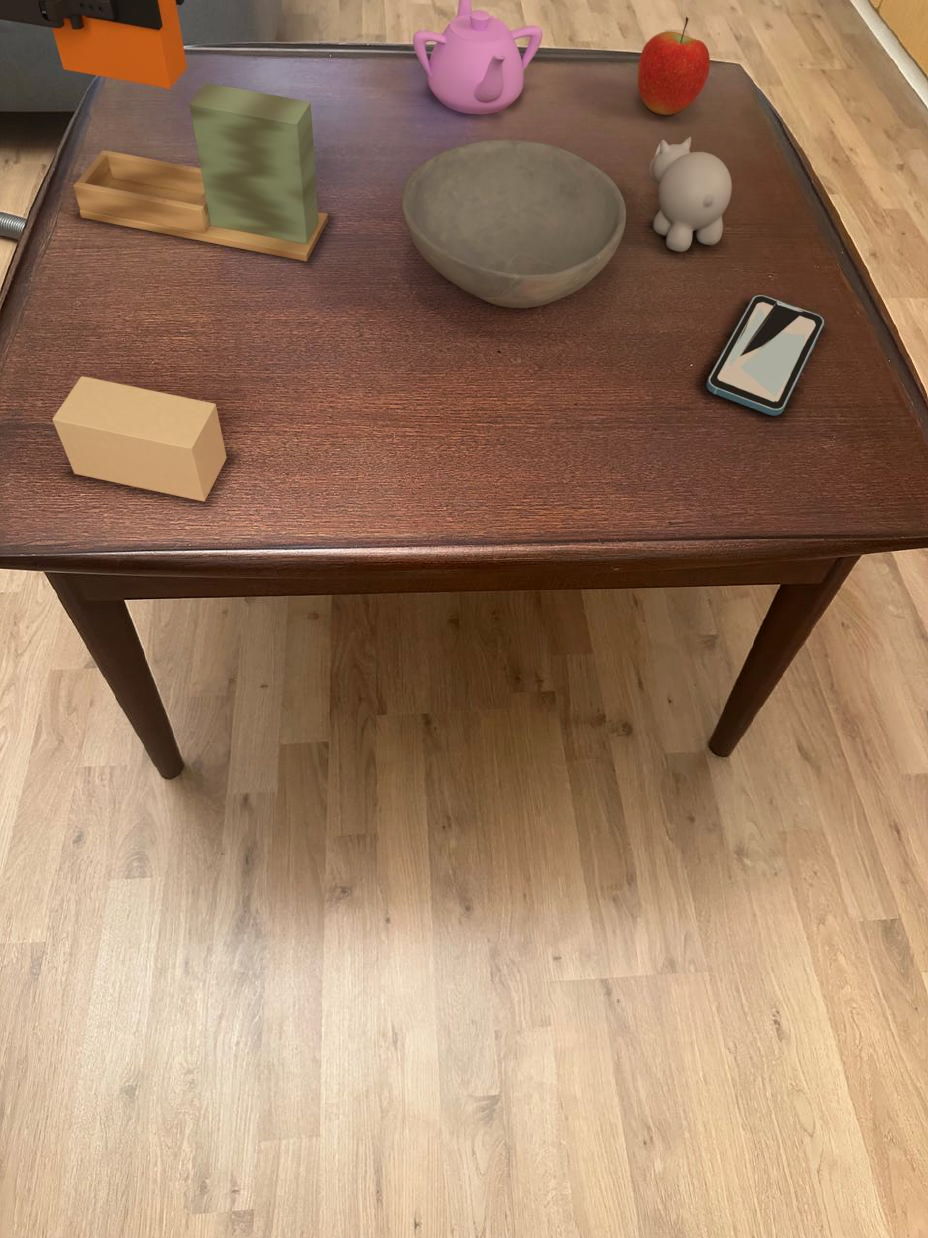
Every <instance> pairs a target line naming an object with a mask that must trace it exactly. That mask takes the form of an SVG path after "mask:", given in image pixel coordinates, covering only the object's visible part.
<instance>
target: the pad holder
mask: <svg viewBox="0 0 928 1238" xmlns="http://www.w3.org/2000/svg"><path fill="white" fill-rule="evenodd" d="M311 104H312V103H311V101H309V100H303V99H298V98H292V97H287V96H282V95H275V94H270V93H266V92H265V93H264V92H260V91H259V92H258V91H253V90H248V89H242V88H237V87H232V86H228V85H227V86H226V85H221V84H215V83H210V82H204V84H203V85H202V87H201V88H200V89H199V91H198V92H197V93H196V94H195V96H194V97H193V98H192V100H191V101H190V103H189V111H190V115H191V122H192V129H193V133H194V139H195V145H196V151H197V156H198V161H199V167H196V166H191V165H185V164H180V163H175V162H169V161H165V160H159V159H154V158H148V157H144V156H143V157H142V156H137V155H132V154H129V153H128V154H126V153H122V152H116V151H112V150H106V149H102V150H101V152H100V153H99V154H98V155H97V156H96V158H95V159H94V160H93V162H91V164H90V165H89V166H88V167H87V168H86V170H85V171H84V172H83V173H82V174H81V176H80V177H79V178H78V179H77V180H76V181H75V183H74V184H73V185H72V187H73V191H74V194H75V197H76V201H77V204H78V207H79V215H80V218H82V219H87V220H92V221H97V222H103V223H108V224H112V225H118V226H122V227H127V228H133V229H138V230H143V231H149V232H153V233H157V234H163V235H168V236H175V237H179V238H184V239H189V240H194V241H199V242H204V243H210V244H216V245H220V246H226V247H230V248H236V249H242V250H246V251H251V252H256V253H261V254H267V255H272V256H276V257H282V258H286V259H292V260H297V261H301V262H307V261H308V260H309V258H310V256H311V255H312V252H313V250H314V248H315V246H316V245H317V243H318V241H319V239H320V237H321V235H322V234H323V232H324V229H325V228H326V226H327V224H328V222H329V214H328V213H326V212H320V211H319V202H318V191H317V190H318V187H317V175H316V162H315V161H316V160H315V147H314V146H315V145H314V134H313V132H314V131H313V119H312V118H313V117H312V116H313V115H312V105H311Z"/></svg>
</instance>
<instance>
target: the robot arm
mask: <svg viewBox="0 0 928 1238" xmlns="http://www.w3.org/2000/svg"><path fill="white" fill-rule="evenodd" d="M184 3H185V0H176V6H182V5H183V4H184ZM82 15H83V16H85V17H89V18H94V19H100V20H105V21H111V22H116V23H122V24H127V25H133V26H138V27H144V28H150V29H155V30H160V29H161V28H162V27H163V25H162V19H161V14H160V9H159V3H158V0H0V20H2V21H8V22H13V23H19V24H25V25H32V26H40V27H45V28H50V29H52V28H62V27H63V26H64V25H65V24H64V20H63V19H64V18H67V19H70V22H71V26H72V29H74V30H78V29H82V28H83V27H84V23H83V19H82Z"/></svg>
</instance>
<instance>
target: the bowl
mask: <svg viewBox="0 0 928 1238" xmlns="http://www.w3.org/2000/svg"><path fill="white" fill-rule="evenodd" d="M400 208H401V213H402V218H403V222H404V224H405V227H406V230H407V232H408V235H409V236H410V239H411V241H412V243H413V245H414V247H415V248H416V250H417V252H419V254H420V256H421V257H422V258H423V259H424V260H425V262H427V264H429V265H430V267H432V268H433V270H435V271H436V272H438V273H439V274H440V275H441V276H442V277H444V278H445V279H446V280H447V281H449V282H451V283H452V285H455V286H456V287H457V288H460V289H462V290H463V291H465V292H467V293H468V294H470V295H472V296H475V297H477V298H479V299H481V300H483V301H485V302H487V303H490V304H492V305H495V306H496V307H503V308H510V309H530V308H535V307H537V308H538V307H542V306H545V305H550V304H552V303H554V302H555V301H559V300H561V299H563V298H566V297H568V296H570V295H572V294H574V293H576V292H578V291H579V290H581V289H582V288H583V287H585V286H586V285H587V284H588V283H590V282H591V281H592V280H593V279H594V278H595V277H597V275H599V273H600V272H601V271H602V270H603V269H604V268H605V267H606V266H607V264H608V263H609V262H610V260H611V259H612V257H613V256H614V254H615V253H616V250H617V249H618V247H619V245H620V243H621V242H622V241H621V240H622V239H623V235H624V232H625V229H626V228H625V227H626V221H627V220H626V219H627V209H626V204H625V199H624V197H623V195H622V193H621V191H620V189H619V188H618V186H617V185H616V183H615V182H614V181H613V180H612V179H611V177H610V176H608V174H607V173H605V172H604V171H603V170H601V169H600V168H599V167H597V166H596V165H594V164H593V163H591V162H589V161H588V160H586V159H584V158H582V157H580V156H578V155H577V154H575V153H573V152H571V151H569V150H567V149H564V148H562V147H559V146H555V145H552V144H548V143H544V142H537V141H528V140H521V139H487V140H478V141H474V142H470V143H466V144H461V145H459V146H455V147H452V148H450V149H447V150H444V151H442V152H440V153H438V154H436V155H434V156H433V157H431V158H429V159H428V160H426V161H424V162H423V163H421V164H420V165H419V166H418V168H416V169H415V171H413V172H412V174H411V175H410V176H409V178H408V179H407V181H406V182H405V184H404V187H403V190H402V193H401V199H400Z"/></svg>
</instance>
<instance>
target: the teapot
mask: <svg viewBox="0 0 928 1238" xmlns="http://www.w3.org/2000/svg"><path fill="white" fill-rule="evenodd" d="M526 37H528V38H529V41H528V44H527V47H526V48H525V49H526V50H525V52H524V54H523V56H521V52H520V51H519V47H518V45H517V43H516V41H515V40H517V39H522V38H526ZM542 39H543V30H542V28H541V27H540V26H538V25H528V26H523V27H519V28H516V29H513V30H510V29H509V27H508V25H507V24H506V23H504V21H502V20H500V19H499V18H497V17H495V16H492V15H491V14H490V13H489V12H488V11H486V10H481V9H476V10H472V2H471V0H459V1H458V7H457V12H456V16H455V18H454V19H452V20H451V21H450V22H449V23H448V24H447V26H446V27H445V28H444V30H443V31H442V33H439V32H436V31H431V30H427V29H420V30H417V31H416V32H415V33H414V34H413V36H412V45H413V49H414V52H415V54H416V56H417V59H418V61H419V62H420V64H421V67H422V68H423V69H424V71H425V72H426V81H427V84H428V87H429V88H430V89H429V90H431V92H432V93H433V95H434V96H435V97H436V99H437V100H438V101H439V102H440V103H441V104H442V105H444V106H445V107H446V108H449V109H451V110H452V111H456V112H459V113H462V114H467V115H490V114H496V113H499V112H501V111H504V110H505V109H506V108H508V107H509V106H511V105H512V104H513V103H514V102H515V101H516V100H517V99H518V97H520V95H521V93H522V91H523V89H524V83H525V82H524V79H525V78H524V77H525V75H524V71H525V70H526V69H527V67H528V65H529V64H530V62H531V61H532V60H533V58H534V57H535V55H536V53H537V52H538V50H539V48H540V46H541V43H542ZM427 42H435V45H434V47H433V49H432V51H431V54H430V58H428V53H427V50H426V44H427Z"/></svg>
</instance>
